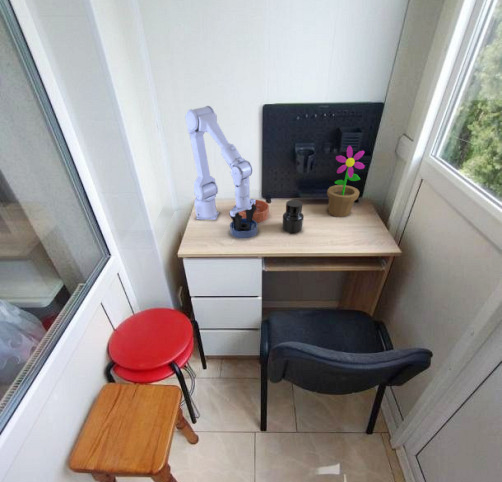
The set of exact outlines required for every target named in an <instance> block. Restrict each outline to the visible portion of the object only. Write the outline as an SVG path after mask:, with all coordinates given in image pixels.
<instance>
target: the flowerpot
mask: <svg viewBox="0 0 502 482" xmlns="http://www.w3.org/2000/svg"><path fill="white" fill-rule="evenodd" d="M364 154H365V151H364V150H360V151H358V152H357V153H355V154H354V152H353V147H352V146H351V145H348V146H347V149H346V156H347V158H346V157H345V156H343V155H336V156H335V160H336V161H337V162H338V163H342V165H340V166H339V167H338V168H337V170H336V173H337V174H342V173H343V172H344V171H346V172H345V177H344V180H343V179H337V180H336V181H335V180H334V184H336V185H332V186H329V188H328V189H327V191H326V196H327V197H328V208H327V211H328V214H329V215H331V216H334V217H338V218H345V217H348V216H349V215H350V214H351V211H352V208H353V206H354V203H355V201H357V200H358V198H359V196H360V190H359V189H358V188H356V187H354V186H351V185H347V182H348V180H349V181H351V182H357V181H360V180H361V178H360V177H359V175H358V174H356V173H354V168H355V169H358V170H363V169H365V167H366V165H365V164H364V163H363V162H360V161H359V160H360V159H361V158H362V157H363V156H364ZM353 155H354V156H353ZM353 166H354V168H353Z"/></svg>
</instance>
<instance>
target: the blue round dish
mask: <svg viewBox="0 0 502 482" xmlns="http://www.w3.org/2000/svg"><path fill="white" fill-rule="evenodd" d="M241 223H248V224H249V225H250V231H238V229H236V227H235V224H234V222H233V220H232V221H231V222H230V224H229V232H230V235H231V236H232V237H233V238H238V239H250V238H254V237H255V236H257V234H258V231H259V227H258V225H259V224H258V223H257V222H256V221H255V220H252V222H251V223H249V222H247V219H246V218H242V219H241Z"/></svg>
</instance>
